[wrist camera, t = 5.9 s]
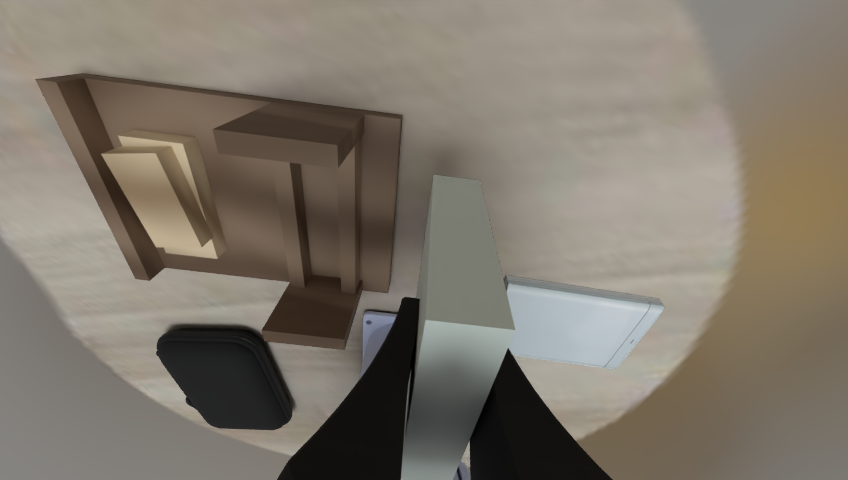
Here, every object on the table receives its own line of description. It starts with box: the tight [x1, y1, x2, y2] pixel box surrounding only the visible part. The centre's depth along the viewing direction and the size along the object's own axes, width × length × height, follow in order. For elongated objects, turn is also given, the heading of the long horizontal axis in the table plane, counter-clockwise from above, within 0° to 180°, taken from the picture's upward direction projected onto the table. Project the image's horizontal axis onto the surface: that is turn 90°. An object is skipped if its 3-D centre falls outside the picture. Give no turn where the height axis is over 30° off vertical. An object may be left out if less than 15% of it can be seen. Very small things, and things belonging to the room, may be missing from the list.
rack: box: [35, 73, 402, 350], centre depth 19 cm, size 13×18×6 cm
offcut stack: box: [101, 130, 227, 259], centre depth 20 cm, size 8×4×2 cm, turn 173°
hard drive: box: [504, 275, 664, 369], centre depth 27 cm, size 2×8×12 cm
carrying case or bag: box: [156, 329, 292, 430], centre depth 32 cm, size 11×3×15 cm
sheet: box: [401, 175, 515, 480], centre depth 13 cm, size 9×2×8 cm, turn 173°
